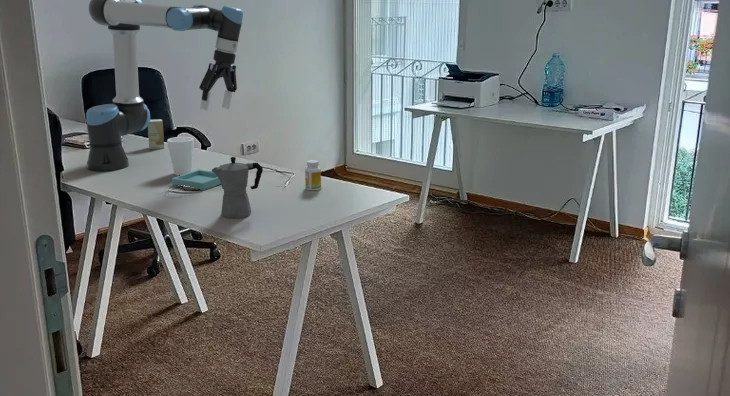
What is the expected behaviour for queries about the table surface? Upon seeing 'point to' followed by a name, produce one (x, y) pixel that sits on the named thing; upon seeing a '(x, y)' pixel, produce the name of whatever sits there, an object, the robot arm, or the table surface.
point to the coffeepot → (236, 187)
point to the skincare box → (156, 134)
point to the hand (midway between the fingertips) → (214, 108)
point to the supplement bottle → (313, 175)
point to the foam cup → (181, 154)
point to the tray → (197, 179)
